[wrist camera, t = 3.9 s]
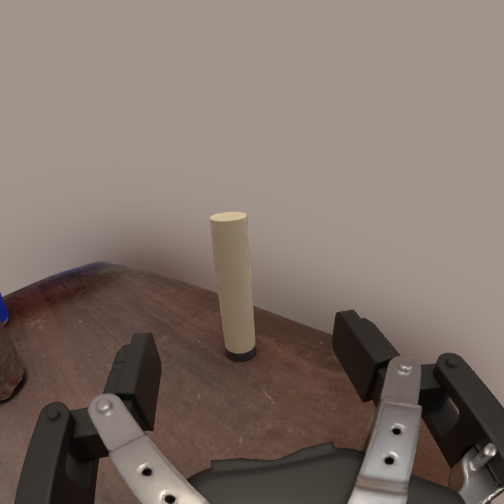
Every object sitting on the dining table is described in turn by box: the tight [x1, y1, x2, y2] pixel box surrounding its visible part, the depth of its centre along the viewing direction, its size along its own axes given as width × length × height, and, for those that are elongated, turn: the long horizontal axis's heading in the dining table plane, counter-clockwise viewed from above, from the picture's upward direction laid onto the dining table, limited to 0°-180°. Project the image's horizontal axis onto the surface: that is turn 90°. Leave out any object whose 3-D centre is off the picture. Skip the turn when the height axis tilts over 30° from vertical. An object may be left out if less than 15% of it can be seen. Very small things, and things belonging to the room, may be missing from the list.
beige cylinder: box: [210, 212, 256, 361], centre depth 23 cm, size 3×3×13 cm
